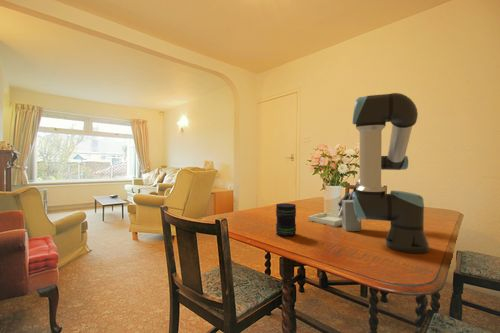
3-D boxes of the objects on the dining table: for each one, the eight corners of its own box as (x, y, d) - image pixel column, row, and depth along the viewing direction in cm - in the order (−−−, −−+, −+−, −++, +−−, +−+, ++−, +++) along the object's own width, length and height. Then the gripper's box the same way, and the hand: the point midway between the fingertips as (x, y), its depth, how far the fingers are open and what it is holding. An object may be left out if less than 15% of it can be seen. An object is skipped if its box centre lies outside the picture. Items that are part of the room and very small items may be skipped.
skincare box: (357, 228, 130) (357, 199, 130) (362, 232, 123) (362, 201, 123) (341, 228, 131) (341, 199, 131) (345, 231, 124) (345, 201, 124)
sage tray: (334, 226, 134) (334, 221, 134) (308, 221, 147) (308, 216, 147) (350, 221, 145) (350, 216, 145) (324, 216, 159) (324, 212, 159)
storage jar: (282, 230, 126) (282, 202, 126) (299, 234, 120) (299, 204, 120) (272, 235, 118) (272, 205, 118) (289, 239, 112) (289, 207, 112)
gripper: (385, 192, 129) (372, 227, 119) (345, 189, 146) (331, 219, 136) (381, 183, 125) (368, 218, 115) (341, 181, 142) (326, 211, 132)
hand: (348, 218), depth 125 cm, fingers closed on skincare box, 10 cm apart
